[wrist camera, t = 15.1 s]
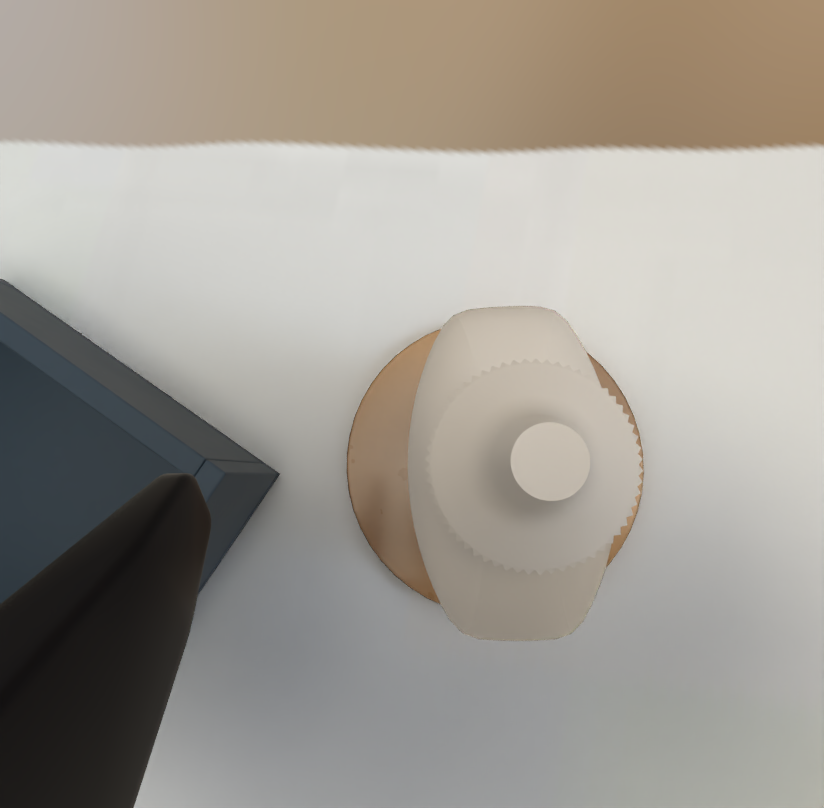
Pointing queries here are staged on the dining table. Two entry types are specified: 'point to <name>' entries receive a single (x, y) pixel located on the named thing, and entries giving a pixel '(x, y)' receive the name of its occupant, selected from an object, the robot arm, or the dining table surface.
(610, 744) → the dining table surface
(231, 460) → the tub
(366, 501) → the coaster
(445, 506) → the eye dropper bottle
